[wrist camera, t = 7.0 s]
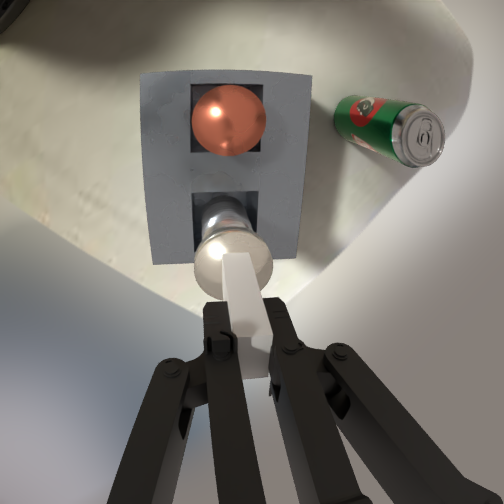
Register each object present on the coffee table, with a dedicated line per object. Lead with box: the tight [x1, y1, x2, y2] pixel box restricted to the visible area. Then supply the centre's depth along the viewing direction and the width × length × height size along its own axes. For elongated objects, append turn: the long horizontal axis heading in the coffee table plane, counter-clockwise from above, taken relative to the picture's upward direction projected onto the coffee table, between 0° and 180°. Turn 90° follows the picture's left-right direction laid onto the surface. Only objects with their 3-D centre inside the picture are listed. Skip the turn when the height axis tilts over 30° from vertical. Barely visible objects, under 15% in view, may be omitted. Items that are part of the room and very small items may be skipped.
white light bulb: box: [194, 195, 273, 301], centre depth 21 cm, size 5×5×8 cm
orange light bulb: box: [192, 85, 266, 156], centre depth 21 cm, size 5×5×8 cm
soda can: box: [334, 95, 445, 168], centre depth 23 cm, size 5×5×12 cm
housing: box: [140, 70, 312, 265], centre depth 25 cm, size 15×12×8 cm
